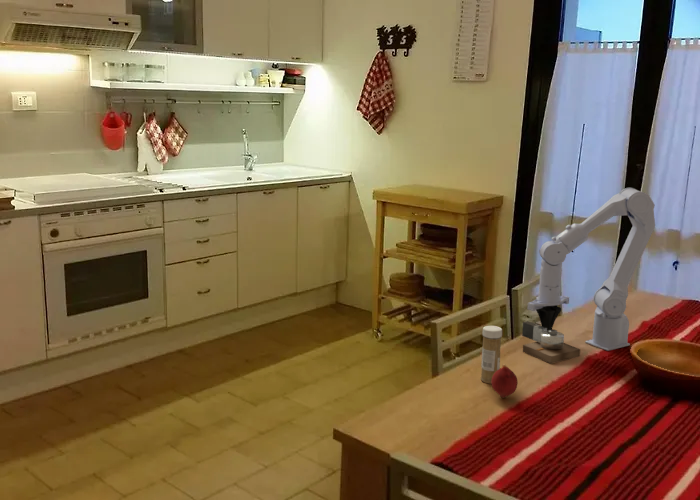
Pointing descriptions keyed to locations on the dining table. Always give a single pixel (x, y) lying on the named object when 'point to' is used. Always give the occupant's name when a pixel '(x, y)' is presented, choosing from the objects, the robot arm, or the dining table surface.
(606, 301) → the robot arm
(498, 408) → the dining table surface
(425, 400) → the dining table surface
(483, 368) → the sprinkles bottle
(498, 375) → the onion
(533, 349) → the walnut base
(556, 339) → the lever handle
